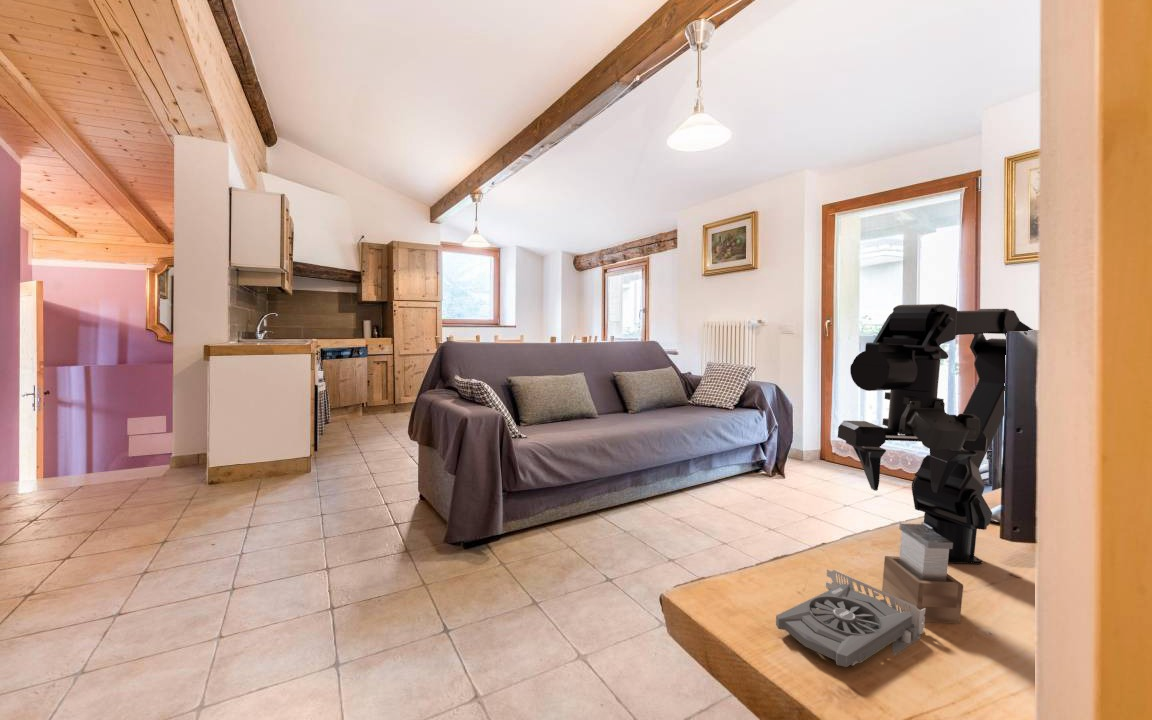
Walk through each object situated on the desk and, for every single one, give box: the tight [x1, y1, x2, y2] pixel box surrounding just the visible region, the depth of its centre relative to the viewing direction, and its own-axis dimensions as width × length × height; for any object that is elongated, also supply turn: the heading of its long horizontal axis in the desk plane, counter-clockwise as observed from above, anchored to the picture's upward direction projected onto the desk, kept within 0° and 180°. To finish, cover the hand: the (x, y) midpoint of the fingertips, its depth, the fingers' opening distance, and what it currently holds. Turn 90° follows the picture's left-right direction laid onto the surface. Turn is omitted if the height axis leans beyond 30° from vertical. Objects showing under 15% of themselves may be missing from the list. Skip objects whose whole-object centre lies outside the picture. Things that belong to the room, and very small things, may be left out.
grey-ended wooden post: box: [898, 523, 953, 582], centre depth 63 cm, size 6×3×8 cm, turn 179°
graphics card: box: [775, 569, 926, 668], centre depth 58 cm, size 17×4×12 cm
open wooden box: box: [881, 555, 964, 624], centre depth 63 cm, size 5×7×5 cm
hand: (904, 490), depth 73 cm, fingers open, 9 cm apart
